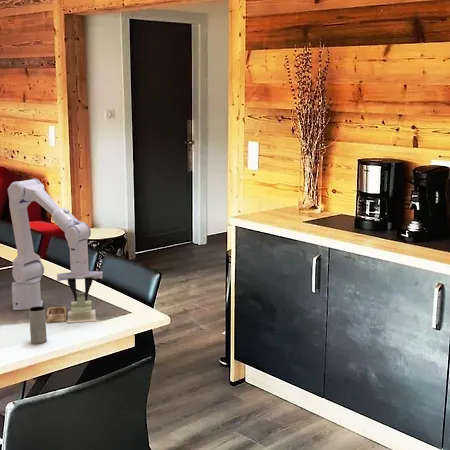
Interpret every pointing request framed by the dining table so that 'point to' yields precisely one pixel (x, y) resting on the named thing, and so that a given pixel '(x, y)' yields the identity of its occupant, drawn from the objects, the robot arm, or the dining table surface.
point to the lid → (81, 304)
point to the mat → (81, 316)
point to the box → (56, 314)
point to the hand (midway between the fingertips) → (81, 300)
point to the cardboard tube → (37, 325)
